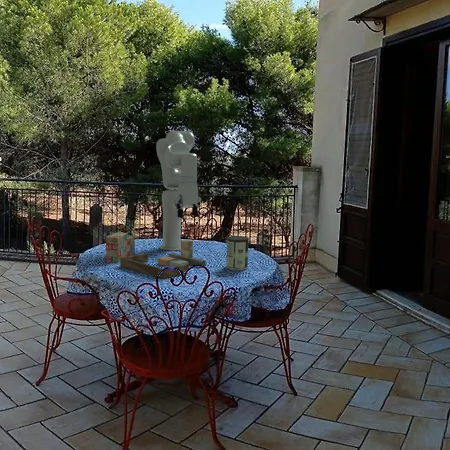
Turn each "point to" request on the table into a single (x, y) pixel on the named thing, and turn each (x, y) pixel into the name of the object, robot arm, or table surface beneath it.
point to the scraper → (187, 254)
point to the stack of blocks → (119, 246)
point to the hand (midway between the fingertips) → (187, 216)
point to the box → (149, 266)
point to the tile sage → (177, 262)
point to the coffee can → (237, 252)
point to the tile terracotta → (165, 261)
